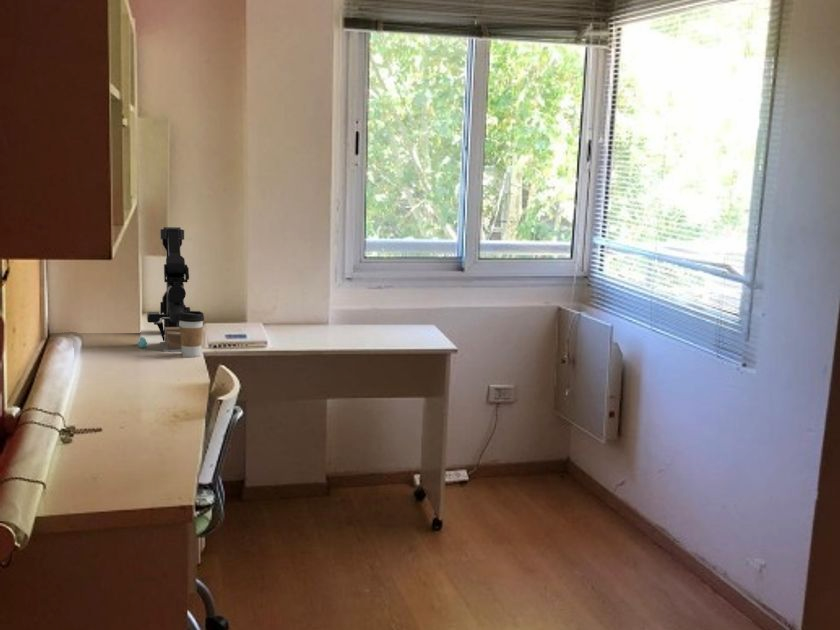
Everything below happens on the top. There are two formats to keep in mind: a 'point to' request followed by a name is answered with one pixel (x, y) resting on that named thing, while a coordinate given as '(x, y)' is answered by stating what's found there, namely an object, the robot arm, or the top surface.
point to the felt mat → (166, 348)
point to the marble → (142, 343)
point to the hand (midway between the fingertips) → (175, 340)
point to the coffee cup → (191, 332)
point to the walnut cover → (173, 338)
